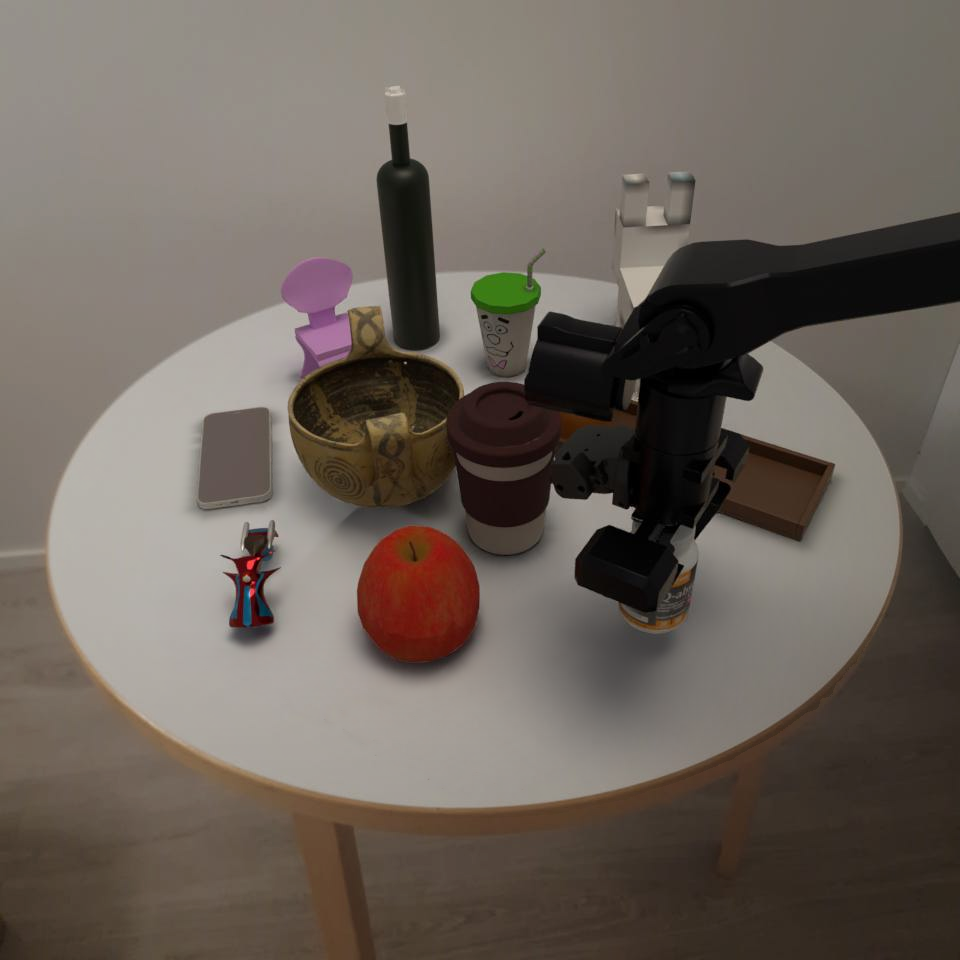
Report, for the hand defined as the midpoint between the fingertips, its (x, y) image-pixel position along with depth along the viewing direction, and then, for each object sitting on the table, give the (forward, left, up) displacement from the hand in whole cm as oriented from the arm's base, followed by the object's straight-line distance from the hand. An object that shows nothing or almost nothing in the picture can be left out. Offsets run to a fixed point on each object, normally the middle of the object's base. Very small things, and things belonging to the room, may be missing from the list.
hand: (656, 584), depth 73 cm
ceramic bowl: (+31, -5, -7) cm, 32 cm away
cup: (+31, -29, -7) cm, 43 cm away
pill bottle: (0, 0, -3) cm, 3 cm away
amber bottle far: (+18, -22, -6) cm, 29 cm away
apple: (+17, +9, -7) cm, 20 cm away
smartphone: (+47, 0, -7) cm, 47 cm away
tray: (+8, -22, -6) cm, 25 cm away
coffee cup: (+17, -5, -7) cm, 19 cm away
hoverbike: (+32, +13, -7) cm, 35 cm away
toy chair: (+46, -16, -7) cm, 49 cm away
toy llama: (+17, -39, -7) cm, 43 cm away
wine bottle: (+44, -29, -7) cm, 53 cm away
